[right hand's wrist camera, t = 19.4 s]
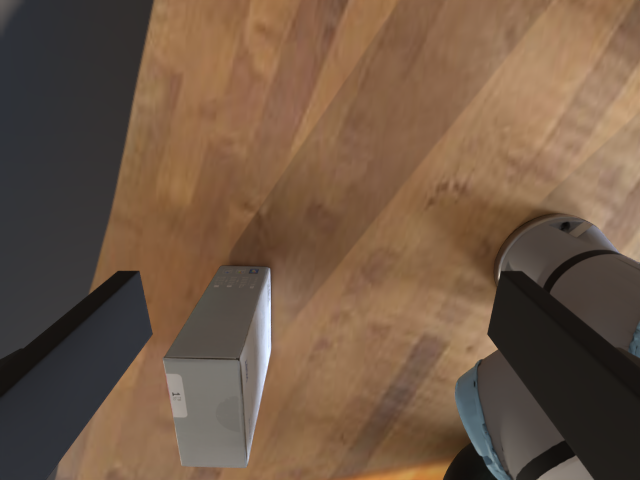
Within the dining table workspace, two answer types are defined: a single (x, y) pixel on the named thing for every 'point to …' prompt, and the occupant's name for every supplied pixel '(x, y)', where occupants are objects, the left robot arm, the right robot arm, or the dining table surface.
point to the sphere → (468, 466)
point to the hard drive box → (221, 368)
